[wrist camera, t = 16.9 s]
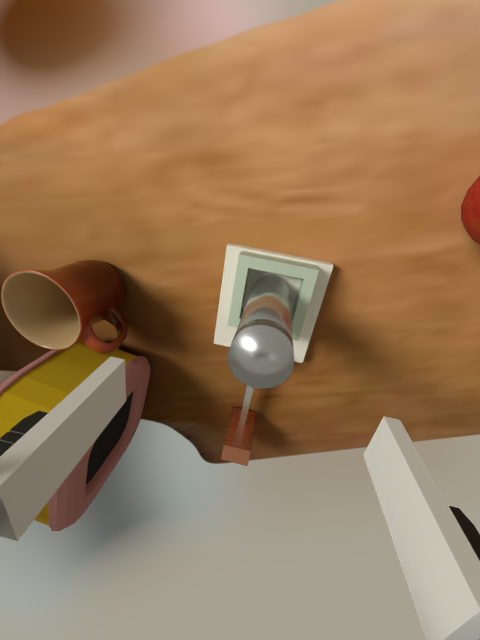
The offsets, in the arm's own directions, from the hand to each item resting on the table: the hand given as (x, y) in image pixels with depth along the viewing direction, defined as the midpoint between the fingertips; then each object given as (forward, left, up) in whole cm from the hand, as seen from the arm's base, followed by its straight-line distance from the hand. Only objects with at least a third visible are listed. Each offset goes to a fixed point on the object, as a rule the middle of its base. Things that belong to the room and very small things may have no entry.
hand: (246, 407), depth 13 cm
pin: (0, -14, -20) cm, 25 cm away
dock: (0, -2, -21) cm, 21 cm away
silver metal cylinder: (0, 0, -19) cm, 19 cm away
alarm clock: (-21, -20, -21) cm, 36 cm away
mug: (-21, -5, -21) cm, 30 cm away
